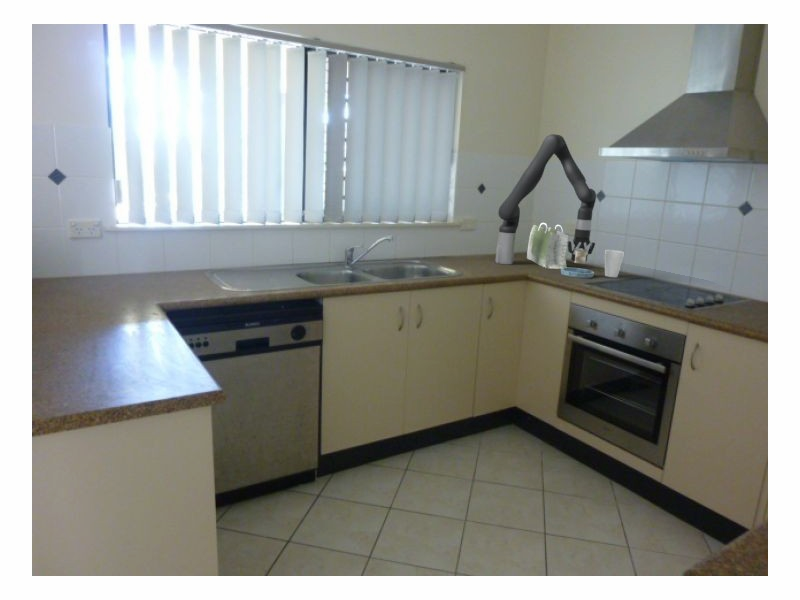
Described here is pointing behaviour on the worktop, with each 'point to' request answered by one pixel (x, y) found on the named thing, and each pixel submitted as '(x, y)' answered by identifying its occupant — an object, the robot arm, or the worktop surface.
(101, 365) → the worktop surface
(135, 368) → the worktop surface
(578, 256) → the ash block
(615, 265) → the foam cup
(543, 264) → the grocery bag
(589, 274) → the dish
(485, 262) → the worktop surface
